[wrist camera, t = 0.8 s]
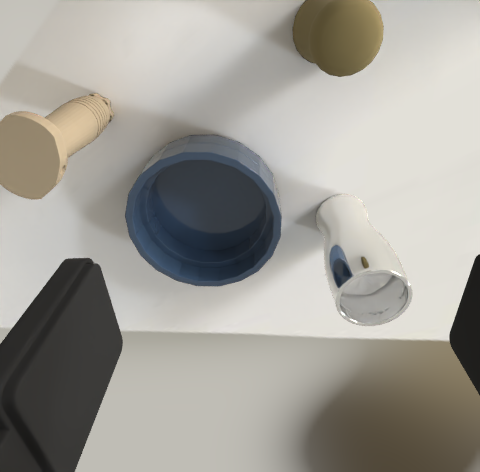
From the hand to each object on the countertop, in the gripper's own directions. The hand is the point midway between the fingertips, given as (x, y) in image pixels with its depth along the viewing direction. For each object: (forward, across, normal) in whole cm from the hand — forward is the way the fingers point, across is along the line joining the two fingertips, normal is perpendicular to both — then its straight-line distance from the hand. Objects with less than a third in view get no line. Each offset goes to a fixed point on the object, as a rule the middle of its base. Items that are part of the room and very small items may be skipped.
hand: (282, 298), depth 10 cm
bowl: (+33, +6, +13) cm, 36 cm away
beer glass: (+33, -9, +16) cm, 38 cm away
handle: (+33, +17, +2) cm, 37 cm away
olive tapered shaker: (+33, -6, -5) cm, 33 cm away
